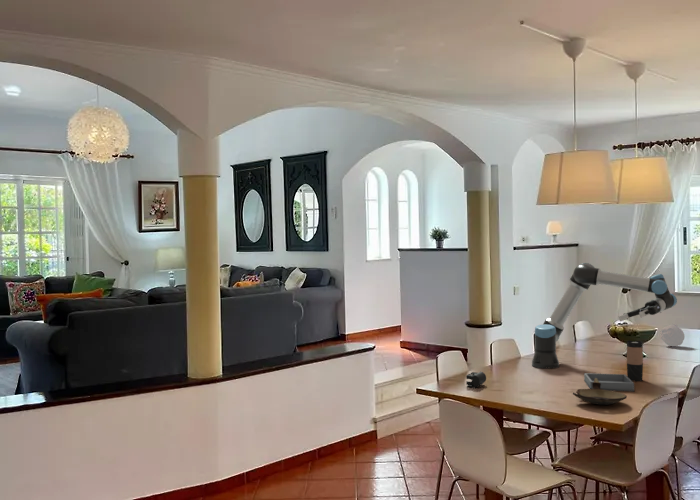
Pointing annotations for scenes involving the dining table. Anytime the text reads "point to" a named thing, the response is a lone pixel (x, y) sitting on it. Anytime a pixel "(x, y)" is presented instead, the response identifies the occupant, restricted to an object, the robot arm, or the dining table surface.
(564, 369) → the dining table surface
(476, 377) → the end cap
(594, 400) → the oil lamp
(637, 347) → the travel mug
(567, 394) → the dining table surface
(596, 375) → the parts tray
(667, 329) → the decorative ball
